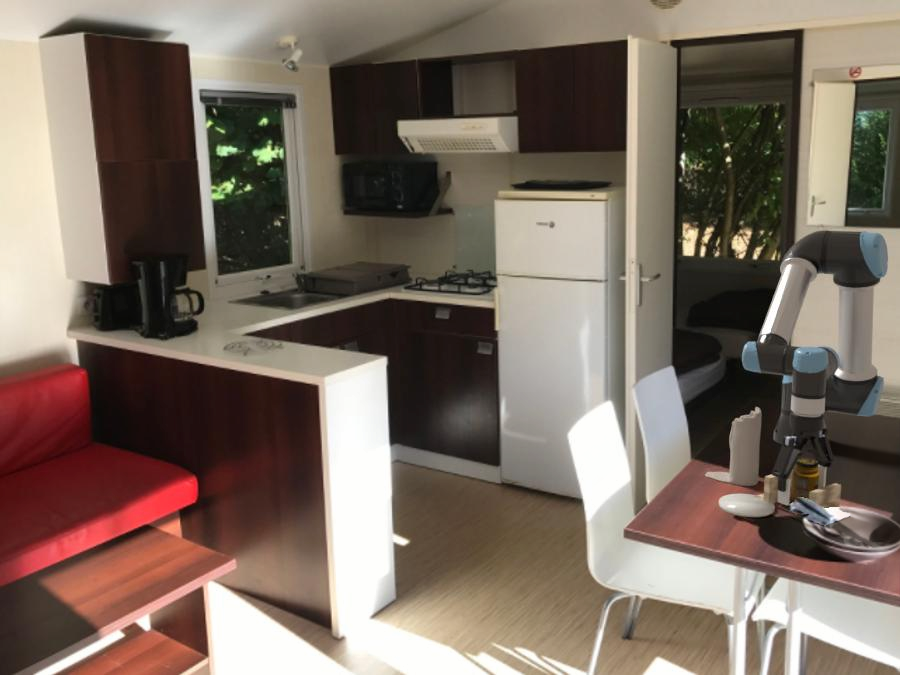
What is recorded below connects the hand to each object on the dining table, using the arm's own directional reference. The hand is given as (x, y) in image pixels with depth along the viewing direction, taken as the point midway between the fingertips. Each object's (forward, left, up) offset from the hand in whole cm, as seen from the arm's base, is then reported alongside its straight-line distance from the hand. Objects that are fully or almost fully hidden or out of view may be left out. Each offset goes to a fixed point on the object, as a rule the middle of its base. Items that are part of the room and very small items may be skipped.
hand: (801, 497), depth 221 cm
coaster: (+10, -8, -3) cm, 13 cm away
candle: (-2, -23, -3) cm, 23 cm away
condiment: (0, 0, -3) cm, 3 cm away
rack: (0, 0, -3) cm, 3 cm away
